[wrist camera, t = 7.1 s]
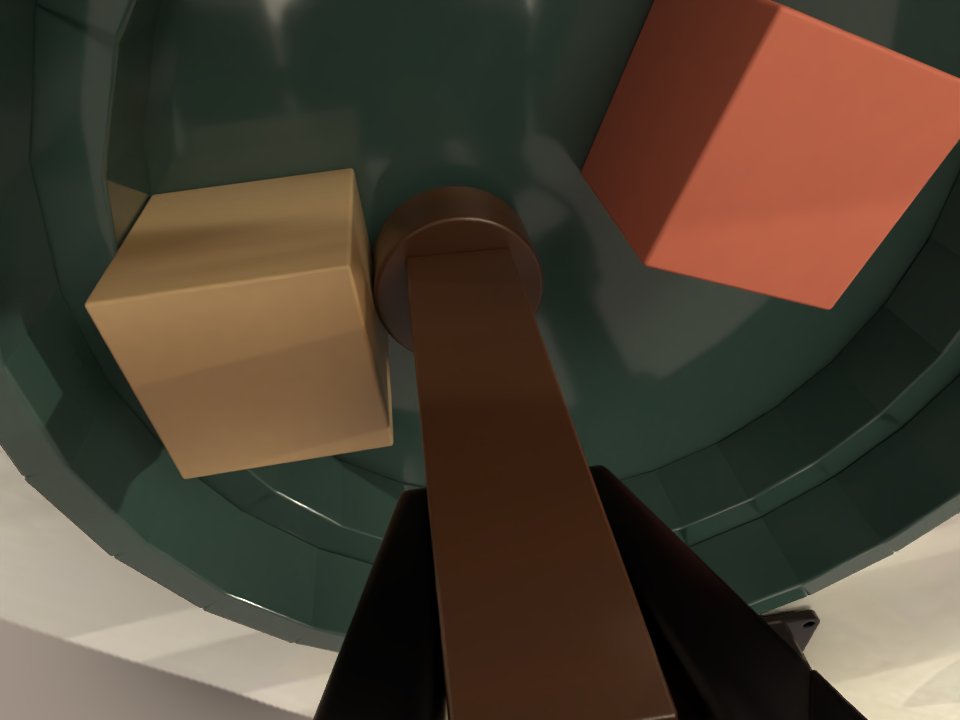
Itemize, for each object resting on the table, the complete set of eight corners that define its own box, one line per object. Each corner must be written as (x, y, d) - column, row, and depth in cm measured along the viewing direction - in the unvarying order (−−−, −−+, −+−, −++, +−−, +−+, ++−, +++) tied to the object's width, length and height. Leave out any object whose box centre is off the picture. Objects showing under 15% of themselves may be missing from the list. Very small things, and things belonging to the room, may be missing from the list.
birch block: (388, 327, 15) (394, 447, 12) (220, 352, 15) (182, 481, 12) (353, 166, 13) (350, 265, 10) (150, 193, 13) (80, 305, 9)
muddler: (528, 315, 15) (701, 809, 7) (383, 330, 15) (402, 863, 7) (531, 177, 13) (780, 667, 5) (362, 191, 13) (352, 734, 5)
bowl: (852, 473, 23) (954, 601, 19) (227, 558, 21) (196, 722, 17) (1361, -537, 9) (2097, -827, 5) (-306, -577, 7) (-1116, -1104, 3)
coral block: (732, 216, 15) (830, 313, 12) (578, 173, 14) (642, 267, 10) (840, 34, 13) (997, 93, 9) (668, -37, 11) (782, 4, 8)
